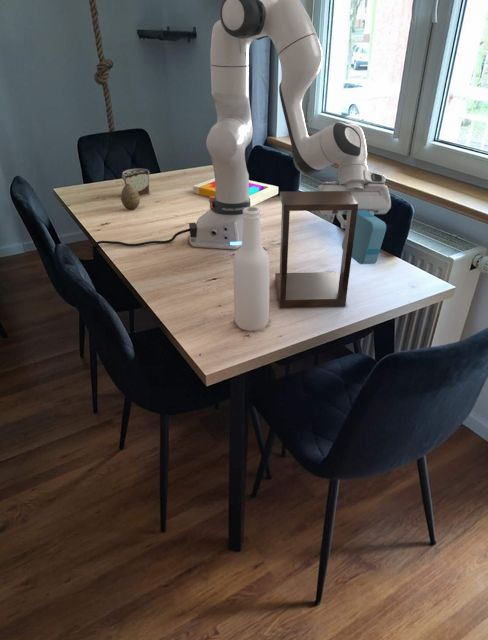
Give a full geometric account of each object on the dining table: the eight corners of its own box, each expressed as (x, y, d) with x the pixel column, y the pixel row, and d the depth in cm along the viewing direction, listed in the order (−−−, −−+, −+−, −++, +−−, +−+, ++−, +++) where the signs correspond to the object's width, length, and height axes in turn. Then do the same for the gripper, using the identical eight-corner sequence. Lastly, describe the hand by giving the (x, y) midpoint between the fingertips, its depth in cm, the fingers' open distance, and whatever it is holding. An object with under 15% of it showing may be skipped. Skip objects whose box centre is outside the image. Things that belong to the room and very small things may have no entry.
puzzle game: (224, 181, 224) (179, 198, 204) (223, 174, 222) (179, 191, 202) (278, 193, 210) (236, 213, 190) (278, 186, 208) (236, 205, 188)
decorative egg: (118, 210, 192) (114, 184, 186) (132, 205, 197) (128, 180, 191) (131, 213, 189) (127, 187, 183) (144, 208, 193) (141, 183, 188)
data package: (375, 266, 134) (388, 224, 128) (362, 266, 132) (374, 223, 126) (353, 248, 143) (364, 208, 137) (340, 249, 141) (350, 208, 135)
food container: (144, 189, 212) (141, 166, 207) (152, 193, 209) (149, 169, 203) (119, 195, 206) (115, 171, 200) (127, 199, 202) (123, 175, 196)
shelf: (279, 308, 132) (283, 204, 115) (275, 280, 145) (277, 184, 128) (345, 306, 133) (358, 204, 116) (334, 279, 146) (345, 183, 129)
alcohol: (230, 329, 123) (227, 214, 105) (239, 312, 130) (237, 201, 112) (264, 333, 121) (266, 218, 104) (271, 315, 128) (274, 204, 111)
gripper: (319, 176, 136) (321, 223, 133) (390, 176, 137) (394, 222, 135) (315, 187, 142) (317, 232, 140) (384, 187, 143) (387, 231, 141)
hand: (356, 227), depth 137 cm, fingers closed on data package, 5 cm apart
